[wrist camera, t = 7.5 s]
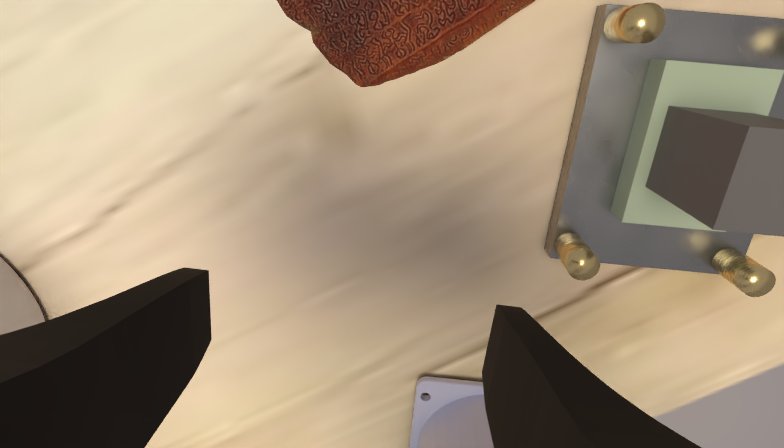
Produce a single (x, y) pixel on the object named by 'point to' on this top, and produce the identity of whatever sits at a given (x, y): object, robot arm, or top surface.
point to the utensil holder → (16, 302)
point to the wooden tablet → (395, 32)
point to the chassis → (612, 133)
